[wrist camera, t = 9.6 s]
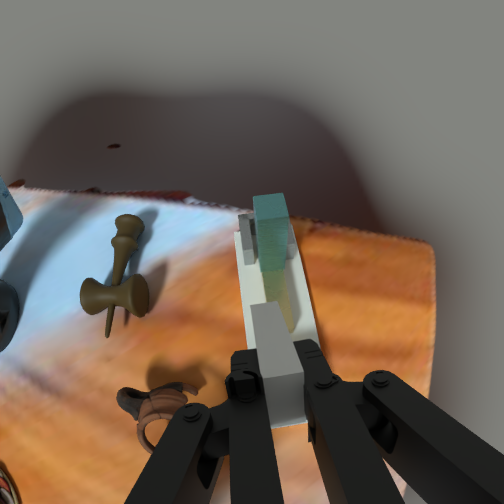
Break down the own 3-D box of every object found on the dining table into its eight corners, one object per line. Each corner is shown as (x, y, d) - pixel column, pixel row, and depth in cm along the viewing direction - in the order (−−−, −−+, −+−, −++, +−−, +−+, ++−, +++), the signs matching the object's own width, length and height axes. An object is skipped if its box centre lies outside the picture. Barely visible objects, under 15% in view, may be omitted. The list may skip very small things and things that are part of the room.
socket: (293, 258, 42) (295, 243, 39) (244, 265, 42) (242, 250, 39) (285, 225, 45) (286, 208, 42) (240, 231, 45) (237, 214, 42)
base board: (331, 417, 31) (333, 417, 30) (259, 429, 31) (258, 430, 30) (291, 228, 46) (292, 224, 45) (234, 236, 46) (233, 232, 45)
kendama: (162, 229, 48) (146, 345, 37) (114, 234, 49) (91, 342, 38) (150, 206, 43) (127, 332, 32) (99, 213, 44) (68, 329, 33)
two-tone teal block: (294, 332, 36) (306, 289, 25) (269, 336, 36) (269, 295, 25) (276, 241, 44) (278, 174, 32) (255, 243, 44) (249, 178, 32)
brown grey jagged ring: (222, 389, 35) (219, 420, 26) (202, 442, 34) (197, 478, 26) (133, 357, 34) (109, 380, 26) (121, 413, 34) (100, 442, 25)
